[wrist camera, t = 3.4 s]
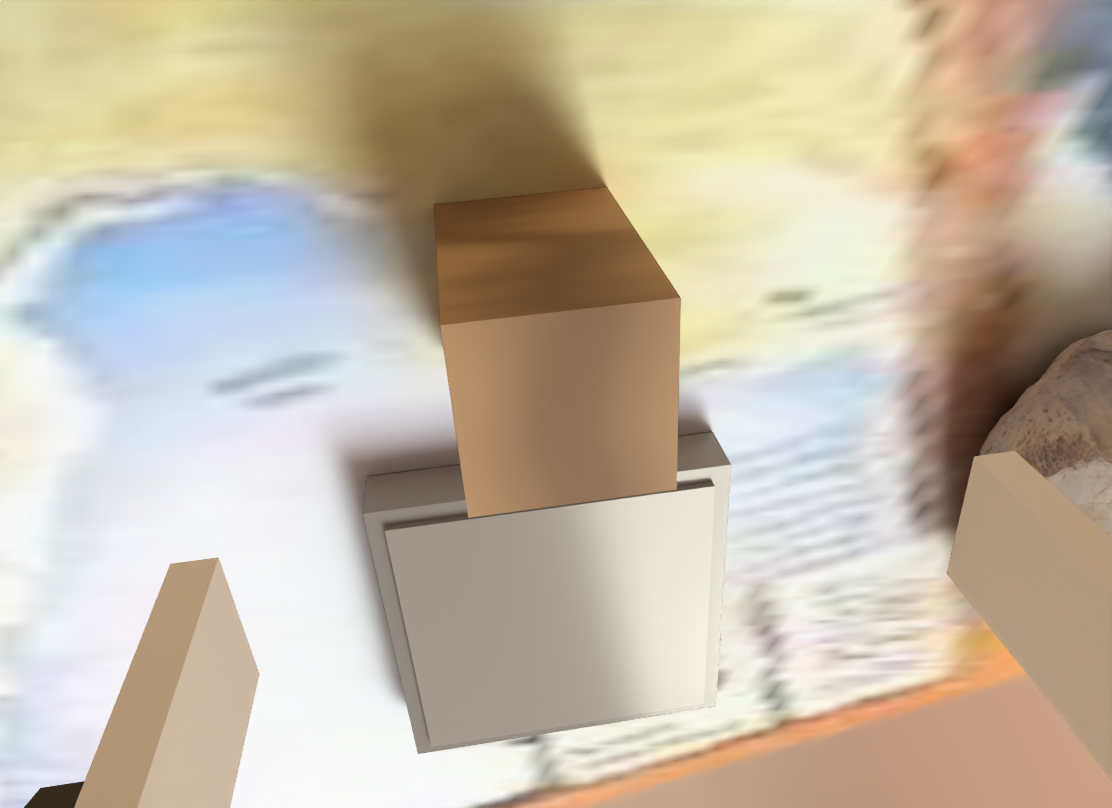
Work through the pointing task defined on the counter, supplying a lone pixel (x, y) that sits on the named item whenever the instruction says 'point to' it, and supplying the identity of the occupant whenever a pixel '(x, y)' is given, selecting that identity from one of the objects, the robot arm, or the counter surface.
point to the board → (551, 602)
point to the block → (556, 351)
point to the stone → (1068, 427)
